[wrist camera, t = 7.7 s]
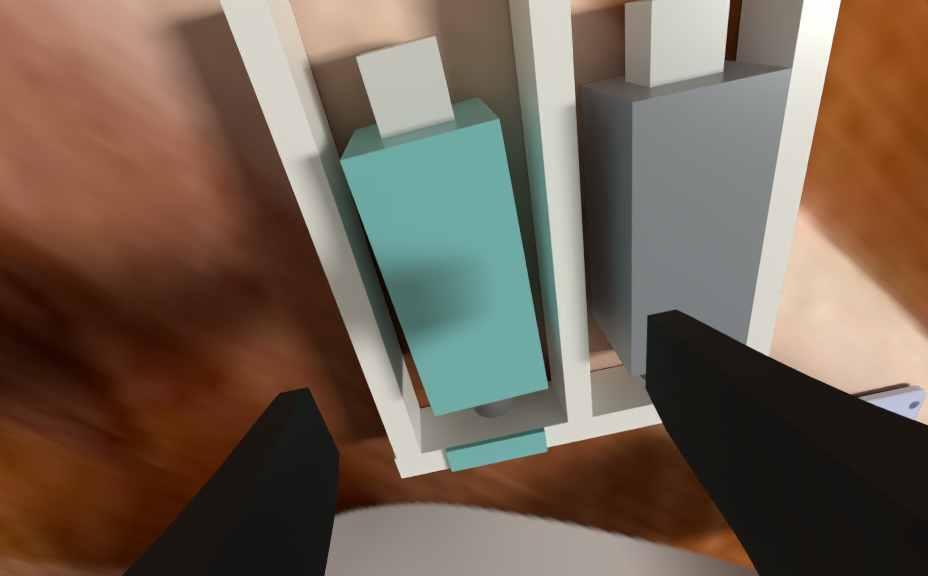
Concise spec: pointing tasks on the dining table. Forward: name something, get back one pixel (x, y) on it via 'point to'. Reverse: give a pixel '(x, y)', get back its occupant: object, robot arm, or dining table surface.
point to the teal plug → (445, 232)
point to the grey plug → (678, 175)
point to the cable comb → (554, 216)
